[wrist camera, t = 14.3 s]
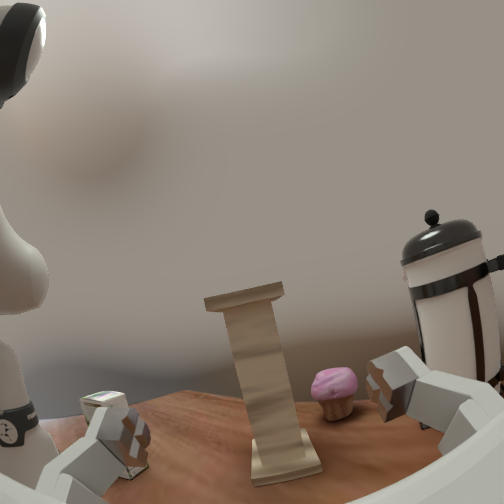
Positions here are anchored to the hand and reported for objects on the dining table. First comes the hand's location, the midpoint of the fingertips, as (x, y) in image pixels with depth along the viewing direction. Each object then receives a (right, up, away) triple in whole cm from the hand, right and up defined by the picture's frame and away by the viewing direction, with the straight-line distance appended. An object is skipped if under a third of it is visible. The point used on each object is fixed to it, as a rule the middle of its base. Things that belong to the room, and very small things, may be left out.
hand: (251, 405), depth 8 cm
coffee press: (+31, -18, +15) cm, 39 cm away
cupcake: (+16, -25, +34) cm, 45 cm away
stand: (+5, -25, +23) cm, 35 cm away
